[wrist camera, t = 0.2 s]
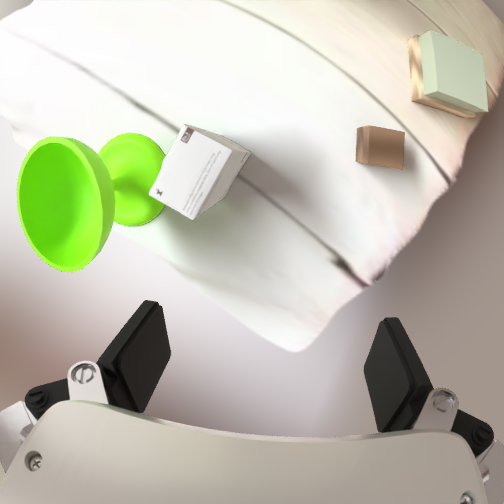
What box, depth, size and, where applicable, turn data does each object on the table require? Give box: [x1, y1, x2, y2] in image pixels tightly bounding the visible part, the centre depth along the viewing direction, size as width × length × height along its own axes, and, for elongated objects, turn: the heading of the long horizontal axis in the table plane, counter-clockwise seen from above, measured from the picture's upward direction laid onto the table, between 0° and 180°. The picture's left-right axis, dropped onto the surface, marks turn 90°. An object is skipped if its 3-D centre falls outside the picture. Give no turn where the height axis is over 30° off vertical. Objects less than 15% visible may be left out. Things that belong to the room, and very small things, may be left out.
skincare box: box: [149, 124, 251, 220], centre depth 31 cm, size 8×6×15 cm
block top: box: [419, 29, 488, 113], centre depth 23 cm, size 10×10×4 cm
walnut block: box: [356, 126, 405, 170], centre depth 32 cm, size 5×5×6 cm
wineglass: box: [17, 133, 165, 272], centre depth 32 cm, size 16×16×18 cm
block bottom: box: [407, 35, 476, 118], centre depth 26 cm, size 11×11×4 cm
